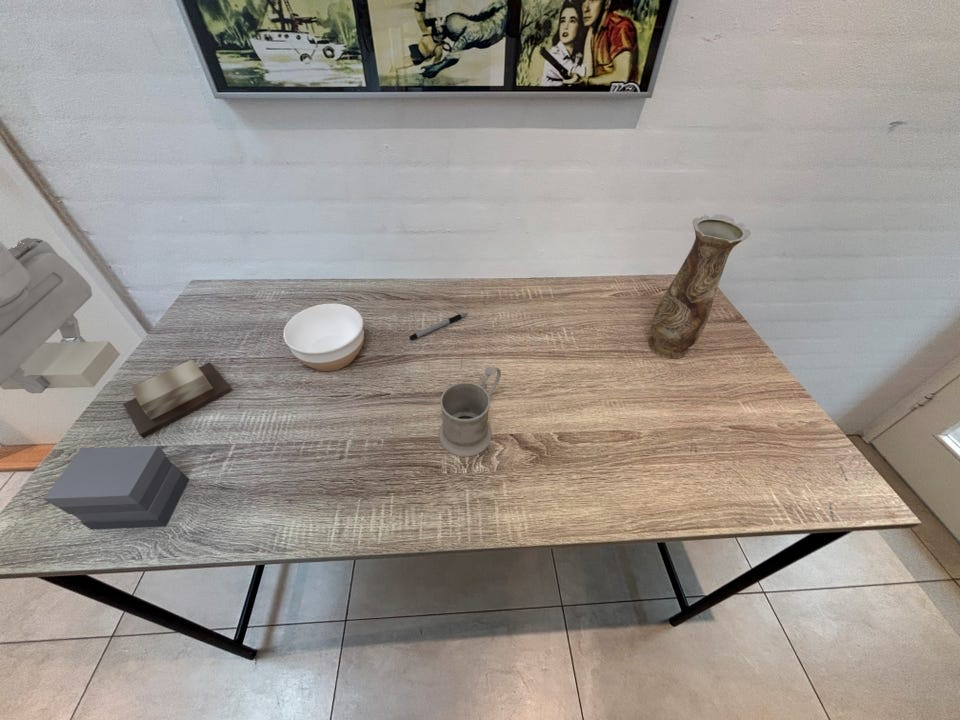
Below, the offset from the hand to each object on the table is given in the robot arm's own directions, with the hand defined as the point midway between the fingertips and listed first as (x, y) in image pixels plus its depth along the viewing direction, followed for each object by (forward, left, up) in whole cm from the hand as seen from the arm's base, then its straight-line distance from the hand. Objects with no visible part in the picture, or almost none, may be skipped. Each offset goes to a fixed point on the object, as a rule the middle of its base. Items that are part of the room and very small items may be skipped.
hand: (60, 367), depth 53 cm
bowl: (+36, +3, -24) cm, 43 cm away
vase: (+92, -49, -24) cm, 107 cm away
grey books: (-4, -6, -24) cm, 25 cm away
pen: (+59, -7, -24) cm, 64 cm away
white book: (0, 0, -1) cm, 1 cm away
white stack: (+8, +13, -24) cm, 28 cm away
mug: (+44, -33, -24) cm, 60 cm away
